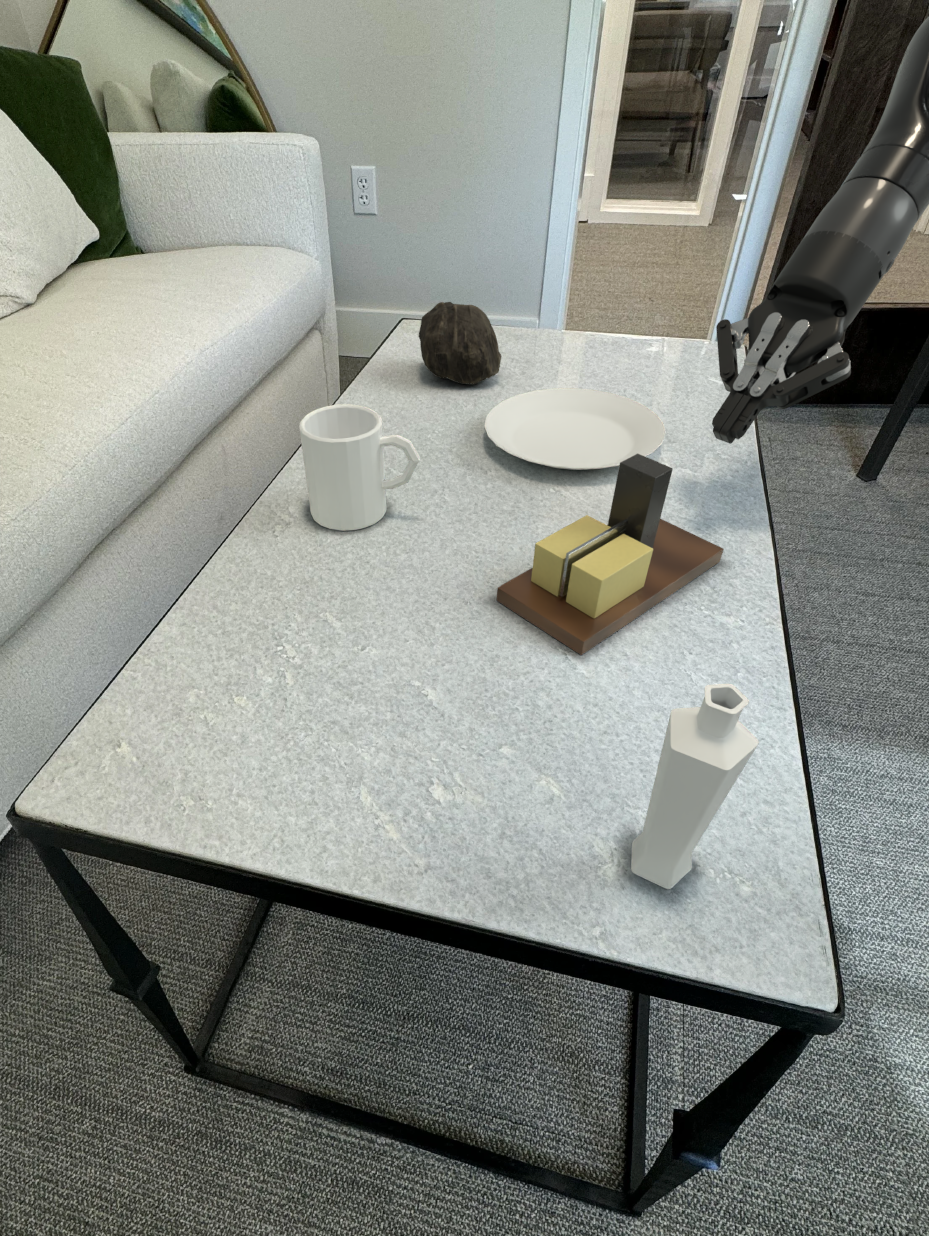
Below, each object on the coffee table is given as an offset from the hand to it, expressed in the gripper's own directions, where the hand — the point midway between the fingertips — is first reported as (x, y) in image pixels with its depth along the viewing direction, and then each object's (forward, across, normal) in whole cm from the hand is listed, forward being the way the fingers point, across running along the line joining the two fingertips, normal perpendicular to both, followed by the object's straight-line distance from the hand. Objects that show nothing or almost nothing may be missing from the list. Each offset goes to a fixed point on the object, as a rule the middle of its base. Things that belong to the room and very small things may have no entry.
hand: (721, 437), depth 66 cm
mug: (+23, -25, -9) cm, 35 cm away
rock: (0, -45, +13) cm, 47 cm away
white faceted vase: (+31, +21, -17) cm, 42 cm away
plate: (+3, -21, +11) cm, 24 cm away
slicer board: (+16, 0, -2) cm, 16 cm away
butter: (+18, 0, -6) cm, 19 cm away
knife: (+16, 0, -5) cm, 17 cm away
